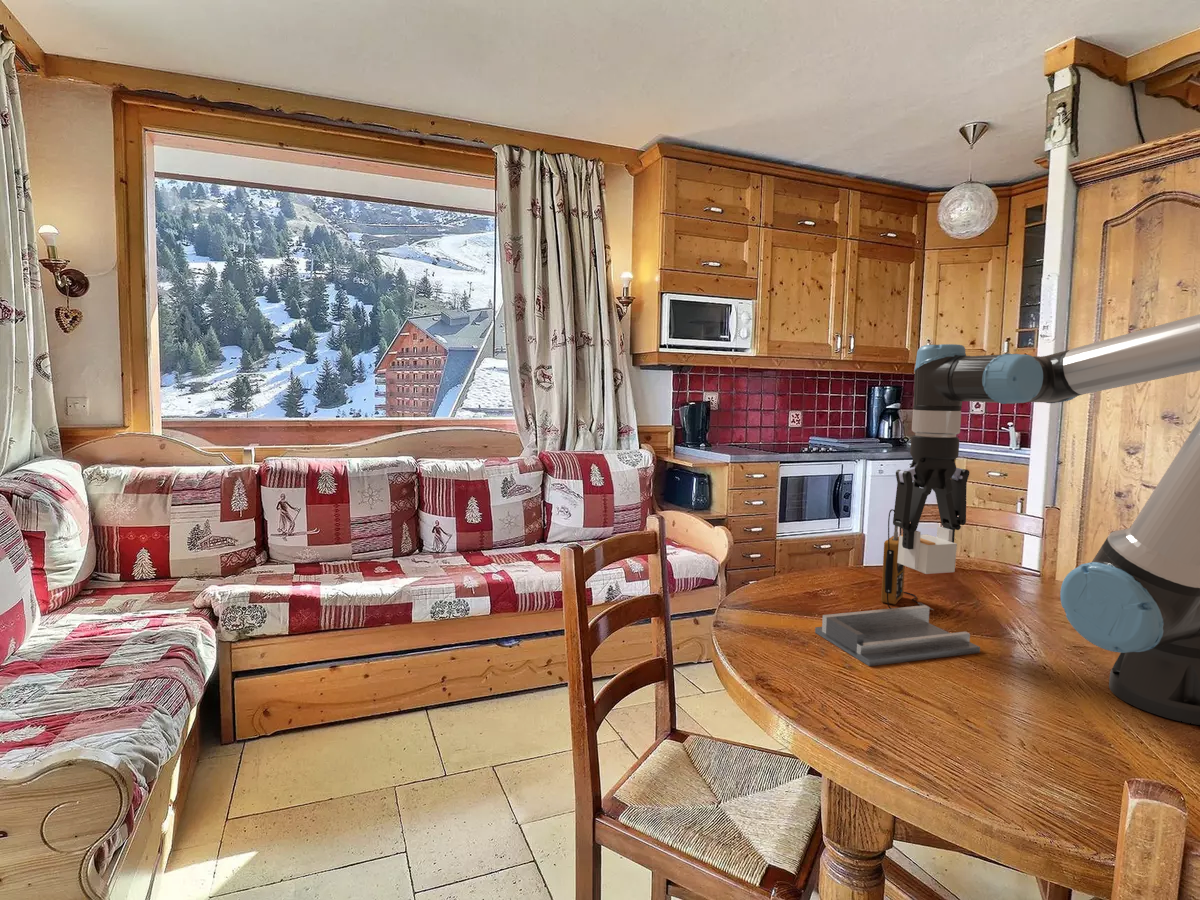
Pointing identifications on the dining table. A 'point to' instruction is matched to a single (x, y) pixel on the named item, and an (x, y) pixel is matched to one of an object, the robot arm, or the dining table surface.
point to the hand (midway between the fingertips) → (926, 565)
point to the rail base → (893, 636)
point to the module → (932, 555)
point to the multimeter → (893, 571)
